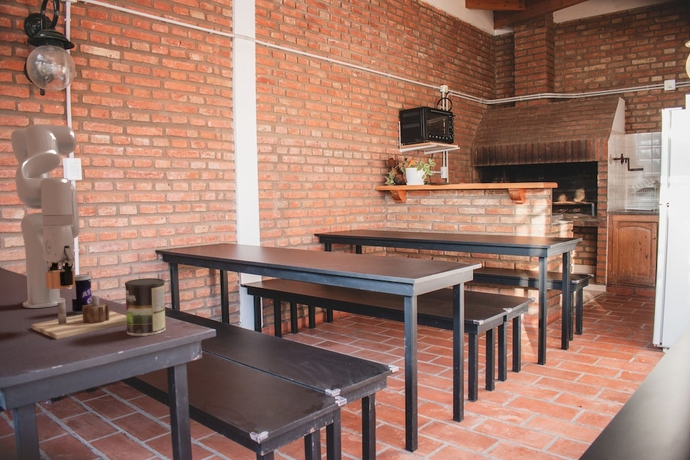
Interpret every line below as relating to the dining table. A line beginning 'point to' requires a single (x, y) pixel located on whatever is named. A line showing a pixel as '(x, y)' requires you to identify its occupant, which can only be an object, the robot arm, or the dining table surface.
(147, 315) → the coffee can
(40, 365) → the dining table surface
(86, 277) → the beverage can
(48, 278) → the loose gear
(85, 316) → the gear board
